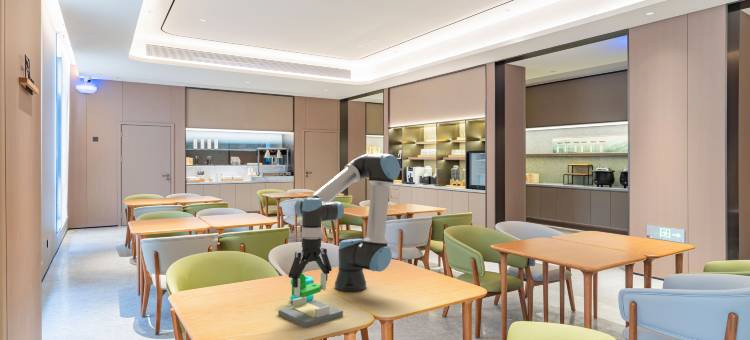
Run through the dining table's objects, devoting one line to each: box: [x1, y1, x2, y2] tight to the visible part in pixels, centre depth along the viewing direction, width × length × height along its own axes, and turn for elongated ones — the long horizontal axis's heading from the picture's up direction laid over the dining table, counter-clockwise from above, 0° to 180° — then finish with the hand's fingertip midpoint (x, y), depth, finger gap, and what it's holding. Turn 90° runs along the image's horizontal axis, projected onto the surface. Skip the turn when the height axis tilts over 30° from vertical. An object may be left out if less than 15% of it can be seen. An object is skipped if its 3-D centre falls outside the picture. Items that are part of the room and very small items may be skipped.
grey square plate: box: [277, 297, 344, 329], centre depth 174 cm, size 18×18×5 cm
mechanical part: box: [291, 273, 322, 298], centre depth 175 cm, size 12×6×8 cm, turn 146°
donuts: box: [290, 275, 315, 303], centre depth 192 cm, size 10×10×10 cm
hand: (310, 292), depth 174 cm, fingers closed on mechanical part, 12 cm apart
